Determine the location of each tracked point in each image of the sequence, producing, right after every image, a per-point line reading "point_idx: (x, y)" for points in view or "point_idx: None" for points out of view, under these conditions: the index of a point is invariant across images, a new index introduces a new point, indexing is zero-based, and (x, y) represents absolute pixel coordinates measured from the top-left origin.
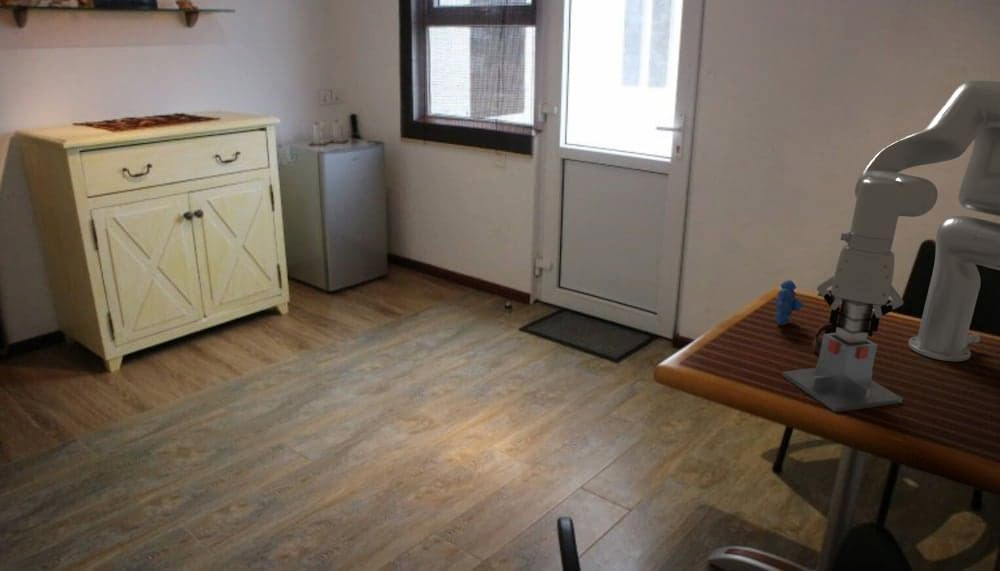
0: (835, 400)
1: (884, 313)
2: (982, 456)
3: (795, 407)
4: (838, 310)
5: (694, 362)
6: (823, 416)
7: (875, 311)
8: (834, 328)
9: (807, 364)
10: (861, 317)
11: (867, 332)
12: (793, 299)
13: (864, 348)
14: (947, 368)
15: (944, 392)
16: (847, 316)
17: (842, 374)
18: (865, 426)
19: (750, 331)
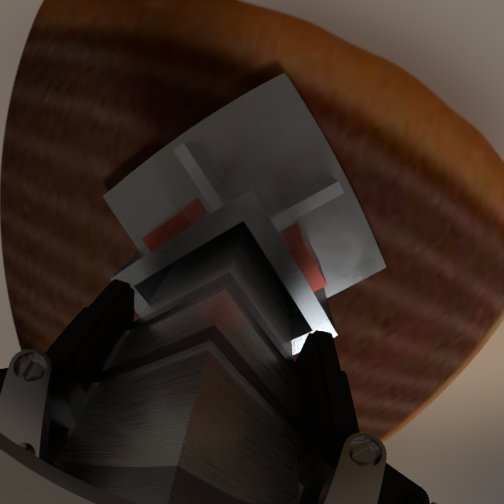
0: (278, 116)
1: (4, 375)
2: (37, 30)
3: (382, 82)
4: (316, 439)
5: None
6: (317, 47)
7: (37, 396)
8: (316, 334)
9: None
10: (148, 374)
11: (136, 322)
12: None
13: (164, 222)
14: None
15: (47, 275)
16: (257, 391)
17: (259, 171)
18: (216, 27)
19: (369, 426)
